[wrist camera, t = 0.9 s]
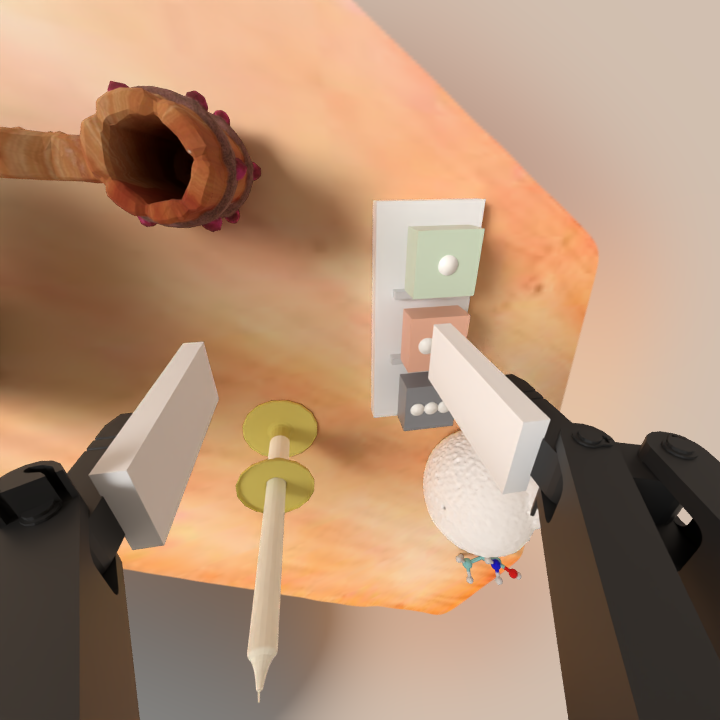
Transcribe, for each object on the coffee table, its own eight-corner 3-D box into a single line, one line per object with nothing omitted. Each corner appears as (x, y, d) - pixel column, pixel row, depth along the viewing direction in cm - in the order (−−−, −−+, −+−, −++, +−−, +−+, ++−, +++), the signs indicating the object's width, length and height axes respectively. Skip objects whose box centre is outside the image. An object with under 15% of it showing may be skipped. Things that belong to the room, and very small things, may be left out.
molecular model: (455, 588, 66) (490, 621, 57) (443, 543, 66) (476, 568, 57) (497, 561, 70) (537, 588, 61) (486, 519, 70) (524, 539, 61)
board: (371, 408, 45) (375, 423, 43) (372, 200, 33) (379, 202, 30) (446, 400, 47) (455, 414, 44) (476, 198, 34) (491, 199, 31)
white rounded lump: (379, 444, 49) (409, 549, 35) (477, 372, 45) (555, 456, 31) (447, 501, 58) (493, 602, 44) (534, 445, 54) (613, 535, 41)
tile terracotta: (400, 359, 37) (408, 373, 34) (403, 308, 34) (412, 319, 31) (450, 354, 38) (462, 368, 35) (457, 305, 35) (471, 315, 32)
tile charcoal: (397, 415, 41) (404, 431, 38) (399, 374, 38) (407, 389, 35) (443, 410, 42) (453, 426, 39) (448, 369, 39) (460, 384, 36)
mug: (261, 119, 28) (227, 69, 15) (267, 220, 32) (244, 249, 19) (69, 98, 26) (-166, 17, 13) (100, 211, 30) (-56, 236, 17)
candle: (228, 440, 44) (147, 731, 21) (267, 387, 41) (222, 658, 18) (292, 465, 48) (283, 734, 25) (332, 419, 45) (364, 675, 22)
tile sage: (404, 290, 33) (413, 299, 30) (408, 226, 30) (418, 231, 28) (460, 286, 34) (474, 296, 31) (469, 224, 31) (485, 228, 28)
